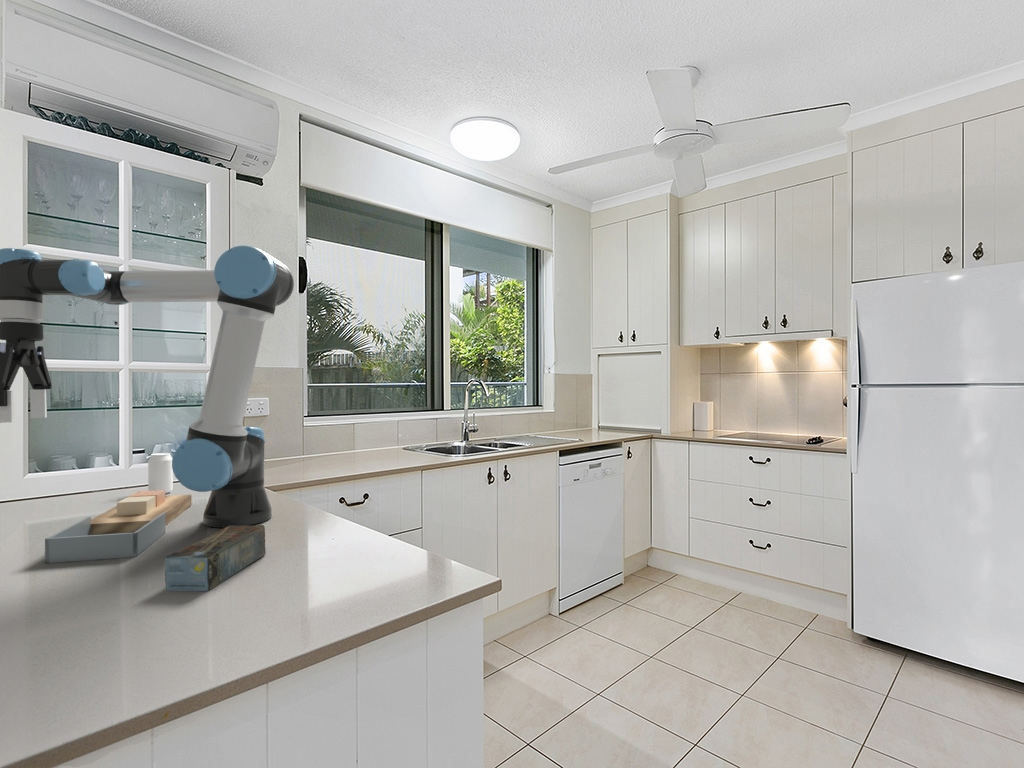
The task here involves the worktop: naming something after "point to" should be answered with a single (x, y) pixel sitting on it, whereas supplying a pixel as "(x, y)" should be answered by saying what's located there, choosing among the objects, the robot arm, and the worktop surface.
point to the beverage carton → (214, 558)
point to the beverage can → (160, 472)
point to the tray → (100, 542)
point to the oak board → (139, 516)
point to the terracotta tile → (159, 495)
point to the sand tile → (136, 505)
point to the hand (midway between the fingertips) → (22, 420)
